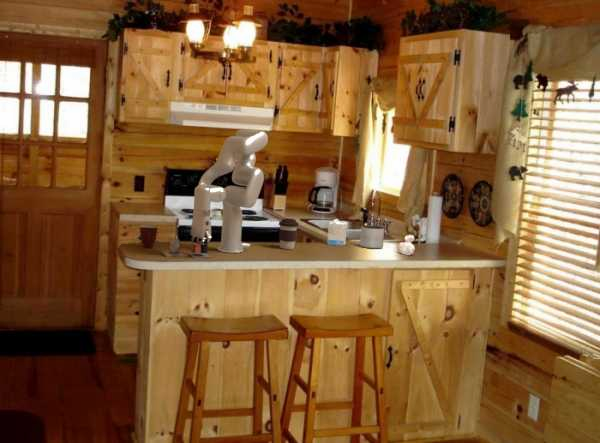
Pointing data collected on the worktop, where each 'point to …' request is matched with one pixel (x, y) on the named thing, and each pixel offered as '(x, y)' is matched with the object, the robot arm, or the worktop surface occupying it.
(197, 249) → the orange round piece
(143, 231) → the mug
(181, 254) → the post base
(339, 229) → the ink box
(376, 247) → the planter
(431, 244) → the worktop surface
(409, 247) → the duck figurine
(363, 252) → the worktop surface
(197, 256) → the mat
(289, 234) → the coffee cup
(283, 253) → the worktop surface
